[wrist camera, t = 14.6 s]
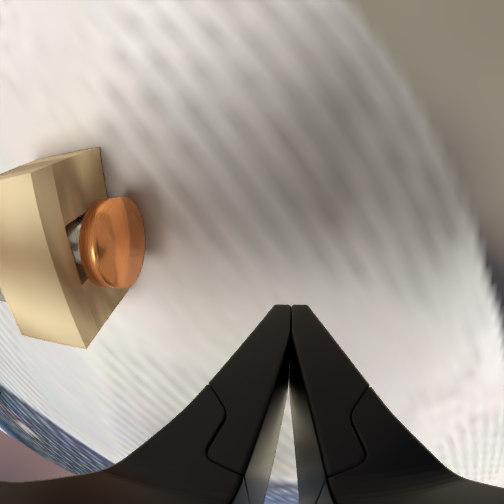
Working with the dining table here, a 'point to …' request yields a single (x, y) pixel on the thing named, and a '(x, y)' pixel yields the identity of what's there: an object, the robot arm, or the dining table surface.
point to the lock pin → (109, 242)
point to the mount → (51, 249)
